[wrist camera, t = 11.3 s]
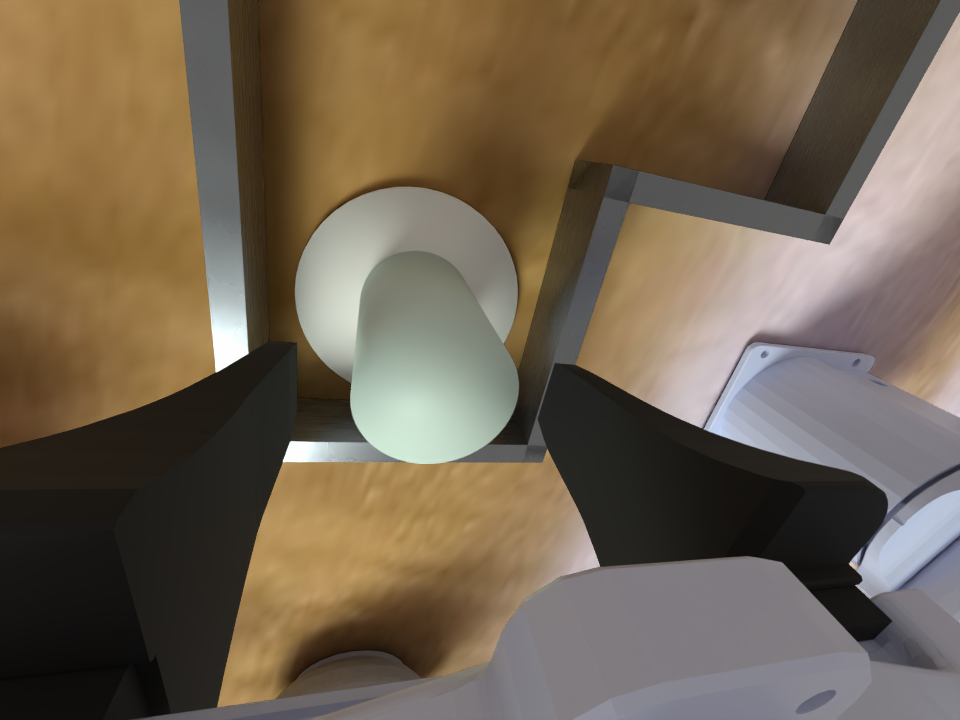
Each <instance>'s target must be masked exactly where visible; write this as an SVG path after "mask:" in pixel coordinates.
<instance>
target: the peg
mask: <svg viewBox="0 0 960 720" xmlns="http://www.w3.org/2000/svg"><path fill="white" fill-rule="evenodd" d="M518 394H519V380H518V374H517V370H516V366H515V364H514V362H513V360H512V358H511V356H510V354H509V353H508V351H507V349H506V348H505V346H504V344H503V343H502V341H501V339H500V338H499V336H498V334H497V333H496V331H495V329H494V328H493V326H492V324H491V323H490V321H489V319H488V318H487V316H486V314H485V313H484V311H483V309H482V308H481V306H480V304H479V303H478V301H477V299H476V298H475V296H474V294H473V293H472V291H471V289H470V288H469V286H468V284H467V283H466V281H465V279H464V278H463V276H462V275H461V273H460V272H459V271H458V269H457V268H456V267H455V266H454V265H453V264H451V263H450V262H449V261H447V260H446V259H444V258H442V257H440V256H438V255H436V254H433V253H429V252H424V251H407V252H401V253H398V254H395V255H392V256H390V257H388V258H386V259H385V260H383V261H382V262H380V263H379V264H378V265H377V266H376V267H375V268H374V269H373V270H372V271H371V272H370V274H369V275H368V277H367V278H366V280H365V282H364V285H363V287H362V291H361V296H360V304H359V314H358V324H357V334H356V344H355V354H354V364H353V373H352V383H351V393H350V406H351V411H352V416H353V418H354V421H355V424H356V425H357V427H358V429H359V431H360V432H361V434H362V435H363V436H364V438H365V439H366V440H367V441H368V442H369V443H370V444H371V445H372V446H374V447H375V448H376V449H378V450H379V451H381V452H383V453H384V454H386V455H388V456H390V457H393V458H395V459H398V460H402V461H406V462H411V463H417V464H436V463H443V462H449V461H453V460H457V459H459V458H462V457H465V456H467V455H469V454H472V453H474V452H476V451H477V450H479V449H481V448H482V447H484V446H485V445H487V444H488V443H489V442H490V441H492V440H493V439H494V438H495V437H496V436H497V435H498V434H499V433H500V432H501V431H502V429H503V428H504V427H505V426H506V424H507V423H508V421H509V420H510V418H511V416H512V414H513V412H514V409H515V406H516V403H517V399H518Z"/></svg>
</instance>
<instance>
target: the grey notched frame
mask: <svg viewBox="0 0 960 720" xmlns="http://www.w3.org/2000/svg"><path fill="white" fill-rule="evenodd" d="M179 2H180V12H181V22H182V32H183V42H184V52H185V62H186V72H187V83H188V93H189V103H190V113H191V123H192V133H193V143H194V153H195V163H196V173H197V183H198V193H199V203H200V213H201V224H202V234H203V244H204V254H205V264H206V274H207V284H208V294H209V304H210V314H211V324H212V334H213V344H214V354H215V365H216V372H218V371H220V370H222V369H223V368H225V367H227V366H228V365H230V364H232V363H233V362H235V361H237V360H239V359H240V358H242V357H244V356H245V355H247V354H249V353H250V352H252V351H253V350H255V349H257V348H258V347H260V346H262V345H263V344H265V343H267V342H269V311H268V281H267V251H266V221H265V191H264V161H263V131H262V101H261V71H260V41H259V11H258V0H179ZM959 12H960V0H859V1H858V3H857V5H856V7H855V9H854V11H853V14H852V16H851V18H850V20H849V22H848V24H847V26H846V28H845V31H844V33H843V35H842V37H841V39H840V41H839V43H838V46H837V48H836V50H835V52H834V54H833V56H832V58H831V60H830V63H829V65H828V67H827V69H826V71H825V73H824V75H823V77H822V80H821V82H820V84H819V86H818V88H817V90H816V92H815V95H814V97H813V99H812V101H811V103H810V105H809V107H808V109H807V112H806V114H805V116H804V118H803V120H802V122H801V124H800V126H799V129H798V131H797V133H796V135H795V137H794V139H793V141H792V144H791V146H790V148H789V150H788V152H787V154H786V156H785V158H784V161H783V163H782V165H781V167H780V169H779V171H778V173H777V175H776V178H775V180H774V182H773V184H772V186H771V188H770V190H769V192H768V195H767V197H766V199H765V200H760V199H756V198H752V197H747V196H743V195H739V194H735V193H730V192H726V191H722V190H718V189H713V188H709V187H705V186H701V185H696V184H692V183H688V182H684V181H679V180H675V179H671V178H667V177H662V176H658V175H654V174H650V173H645V172H641V171H637V170H633V169H628V168H624V167H620V166H616V165H610V164H602V163H594V162H586V161H578V160H575V163H574V167H573V171H572V174H571V178H570V182H569V186H568V189H567V193H566V197H565V201H564V204H563V208H562V212H561V216H560V219H559V223H558V227H557V230H556V234H555V238H554V242H553V245H552V249H551V253H550V257H549V260H548V264H547V268H546V271H545V275H544V279H543V283H542V286H541V290H540V294H539V298H538V301H537V305H536V309H535V312H534V316H533V320H532V324H531V327H530V331H529V335H528V339H527V342H526V346H525V350H524V353H523V357H522V361H521V365H520V368H519V372H518V380H519V394H518V399H517V403H516V406H515V409H514V412H513V414H512V416H511V418H510V420H509V421H508V423H507V424H506V426H505V427H504V428H503V429H502V431H501V432H500V433H499V434H498V435H497V436H496V437H495V438H494V439H493V440H492V441H490V442H489V443H488V444H487V445H485V446H484V447H482V448H481V449H479V450H477V451H476V452H474V453H472V454H469V455H467V456H465V457H462V458H459V459H457V460H453V461H449V462H543V459H544V456H545V453H546V450H547V447H546V444H545V441H544V438H543V435H542V432H541V429H540V425H539V422H538V416H539V412H540V409H541V406H542V403H543V399H544V396H545V393H546V390H547V386H548V383H549V380H550V377H551V374H552V370H553V367H554V364H555V363H560V364H573V365H575V363H576V360H577V357H578V354H579V351H580V348H581V345H582V342H583V339H584V336H585V333H586V330H587V327H588V324H589V321H590V318H591V315H592V312H593V309H594V306H595V303H596V300H597V297H598V294H599V291H600V288H601V285H602V283H603V280H604V277H605V274H606V271H607V268H608V265H609V262H610V259H611V256H612V253H613V250H614V247H615V244H616V241H617V238H618V235H619V232H620V229H621V226H622V223H623V220H624V217H625V214H626V211H627V208H628V205H629V203H633V204H638V205H642V206H647V207H652V208H657V209H662V210H666V211H671V212H676V213H681V214H686V215H691V216H695V217H700V218H705V219H710V220H715V221H719V222H724V223H729V224H734V225H739V226H743V227H748V228H753V229H758V230H763V231H767V232H772V233H777V234H782V235H787V236H791V237H796V238H801V239H806V240H811V241H815V242H820V243H825V244H830V242H831V241H832V239H833V237H834V235H835V233H836V232H837V230H838V228H839V226H840V225H841V223H842V221H843V219H844V217H845V216H846V214H847V212H848V210H849V208H850V207H851V205H852V203H853V201H854V200H855V198H856V196H857V194H858V192H859V191H860V189H861V187H862V185H863V183H864V182H865V180H866V178H867V176H868V174H869V173H870V171H871V169H872V167H873V166H874V164H875V162H876V160H877V158H878V157H879V155H880V153H881V151H882V149H883V148H884V146H885V144H886V142H887V140H888V139H889V137H890V135H891V133H892V132H893V130H894V128H895V126H896V124H897V123H898V121H899V119H900V117H901V115H902V114H903V112H904V110H905V108H906V107H907V105H908V103H909V101H910V99H911V98H912V96H913V94H914V92H915V90H916V89H917V87H918V85H919V83H920V81H921V80H922V78H923V76H924V74H925V73H926V71H927V69H928V67H929V65H930V64H931V62H932V60H933V58H934V56H935V55H936V53H937V51H938V49H939V48H940V46H941V44H942V42H943V40H944V39H945V37H946V35H947V33H948V31H949V30H950V28H951V26H952V24H953V22H954V21H955V19H956V17H957V15H958V14H959ZM283 462H406V461H402V460H398V459H395V458H393V457H390V456H388V455H386V454H384V453H383V452H381V451H379V450H378V449H376V448H375V447H374V446H372V445H371V444H370V443H369V442H368V441H367V440H366V439H365V438H364V436H363V435H362V434H361V432H360V431H359V429H358V427H357V425H356V424H355V421H354V418H353V416H352V411H351V406H350V400H333V399H309V398H297V412H296V417H295V422H294V427H293V431H292V436H291V440H290V443H289V446H288V449H287V452H286V455H285V457H284V460H283Z"/></svg>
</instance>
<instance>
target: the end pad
mask: <svg viewBox="0 0 960 720" xmlns="http://www.w3.org/2000/svg"><path fill="white" fill-rule="evenodd" d="M407 251H424V252H429V253H433V254H436V255H438V256H440V257H442V258H444V259H446V260H447V261H449V262H450V263H451V264H453V265H454V266H455V267H456V268H457V269H458V271H459V272H460V273H461V275H462V276H463V278H464V279H465V281H466V283H467V284H468V286H469V288H470V289H471V291H472V293H473V294H474V296H475V298H476V299H477V301H478V303H479V304H480V306H481V308H482V309H483V311H484V313H485V314H486V316H487V318H488V319H489V321H490V323H491V324H492V326H493V328H494V329H495V331H496V333H497V334H498V336H499V338H500V339H501V341H502V343H503V344H504V342H505V340H506V338H507V336H508V334H509V332H510V330H511V327H512V324H513V321H514V318H515V313H516V308H517V298H518V286H517V276H516V272H515V267H514V263H513V261H512V258H511V255H510V253H509V250H508V249H507V247H506V245H505V243H504V241H503V239H502V238H501V236H500V235H499V234H498V232H497V231H496V229H495V228H494V227H493V226H492V225H491V224H490V223H489V222H488V221H487V220H486V219H485V218H484V217H483V216H482V215H481V214H480V213H478V212H477V211H476V210H475V209H473V208H472V207H471V206H469V205H468V204H466V203H464V202H462V201H461V200H459V199H457V198H455V197H453V196H450V195H448V194H445V193H443V192H439V191H436V190H432V189H428V188H420V187H412V186H407V187H390V188H384V189H378V190H375V191H372V192H369V193H366V194H363V195H361V196H359V197H356V198H354V199H352V200H350V201H348V202H347V203H345V204H344V205H342V206H341V207H339V208H338V209H336V210H335V211H334V212H333V213H332V214H331V215H330V216H328V217H327V218H326V219H325V220H324V221H323V222H322V224H321V225H320V226H319V227H318V229H317V230H316V231H315V232H314V234H313V235H312V237H311V239H310V240H309V242H308V244H307V245H306V247H305V249H304V252H303V254H302V257H301V259H300V262H299V266H298V270H297V274H296V282H295V302H296V309H297V314H298V318H299V322H300V324H301V327H302V330H303V332H304V335H305V336H306V338H307V340H308V342H309V344H310V345H311V347H312V348H313V350H314V351H315V352H316V354H317V355H318V356H319V358H320V359H321V360H322V361H323V362H324V363H325V364H326V365H327V366H328V367H329V368H330V369H331V370H333V371H334V372H335V373H336V374H338V375H339V376H340V377H342V378H344V379H345V380H347V381H348V382H350V383H352V373H353V364H354V354H355V344H356V334H357V324H358V314H359V304H360V296H361V291H362V287H363V285H364V282H365V280H366V278H367V277H368V275H369V274H370V272H371V271H372V270H373V269H374V268H375V267H376V266H377V265H378V264H379V263H380V262H382V261H383V260H385V259H386V258H388V257H390V256H392V255H395V254H398V253H401V252H407Z"/></svg>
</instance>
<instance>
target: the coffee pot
mask: <svg viewBox="0 0 960 720" xmlns="http://www.w3.org/2000/svg"><path fill="white" fill-rule="evenodd" d="M417 679H422V678H421V677H420V676H418V675H417V674H416V673H415V672H414V671H413V670H411V669H410V668H408V667H407V666H405V665H404V664H403V663H402V662H401V660H399V659H398V658H396V657H395V656H393V655H391V654H388V653H384V652H380V651H370V650H365V651H352V652H346V653H341V654H337V655H334V656H331V657H328V658H325V659H323V660H321V661H319V662H317V663H315V664H313V665H311V666H309V667H308V668H307V669H306V670H305V671H303V672H302V673H301V674H300V675H299V676H298V678H297V679H296V680H295V681H294V682H293V683H292V684H291V685H289V686H288V687H287V688H286V689H285V690H284V691H283V692H282V693H281V694H280V695H279V696H278V697H277V698H276V699H282V698H289V697H296V696H303V695H310V694H317V693H325V692H332V691H339V690H346V689H353V688H360V687H367V686H374V685H381V684H389V683H396V682H403V681H410V680H417Z"/></svg>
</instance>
